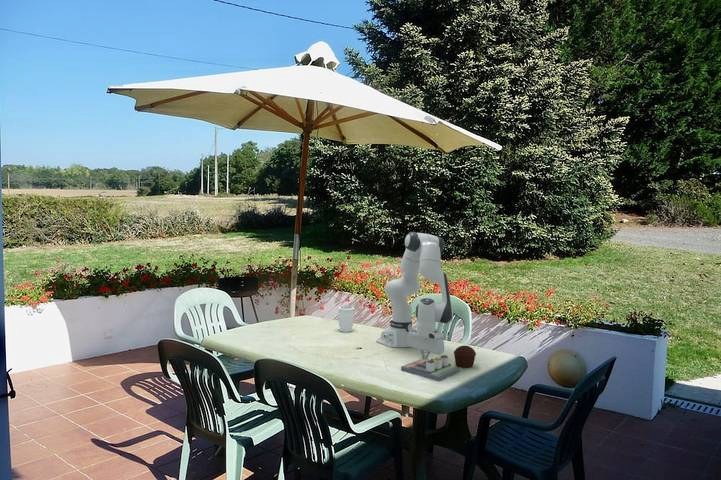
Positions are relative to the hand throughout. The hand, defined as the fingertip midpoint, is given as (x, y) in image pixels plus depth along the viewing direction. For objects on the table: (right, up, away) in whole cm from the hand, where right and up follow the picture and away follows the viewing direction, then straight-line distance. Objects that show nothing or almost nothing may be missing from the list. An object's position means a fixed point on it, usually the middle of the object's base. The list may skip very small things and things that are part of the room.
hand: (424, 358), depth 262 cm
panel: (+3, -6, -2) cm, 6 cm away
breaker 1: (+2, -4, -9) cm, 10 cm away
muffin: (+21, -6, +8) cm, 23 cm away
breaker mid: (+6, -3, -4) cm, 8 cm away
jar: (-41, +1, +75) cm, 86 cm away
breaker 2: (+10, -3, 0) cm, 10 cm away
